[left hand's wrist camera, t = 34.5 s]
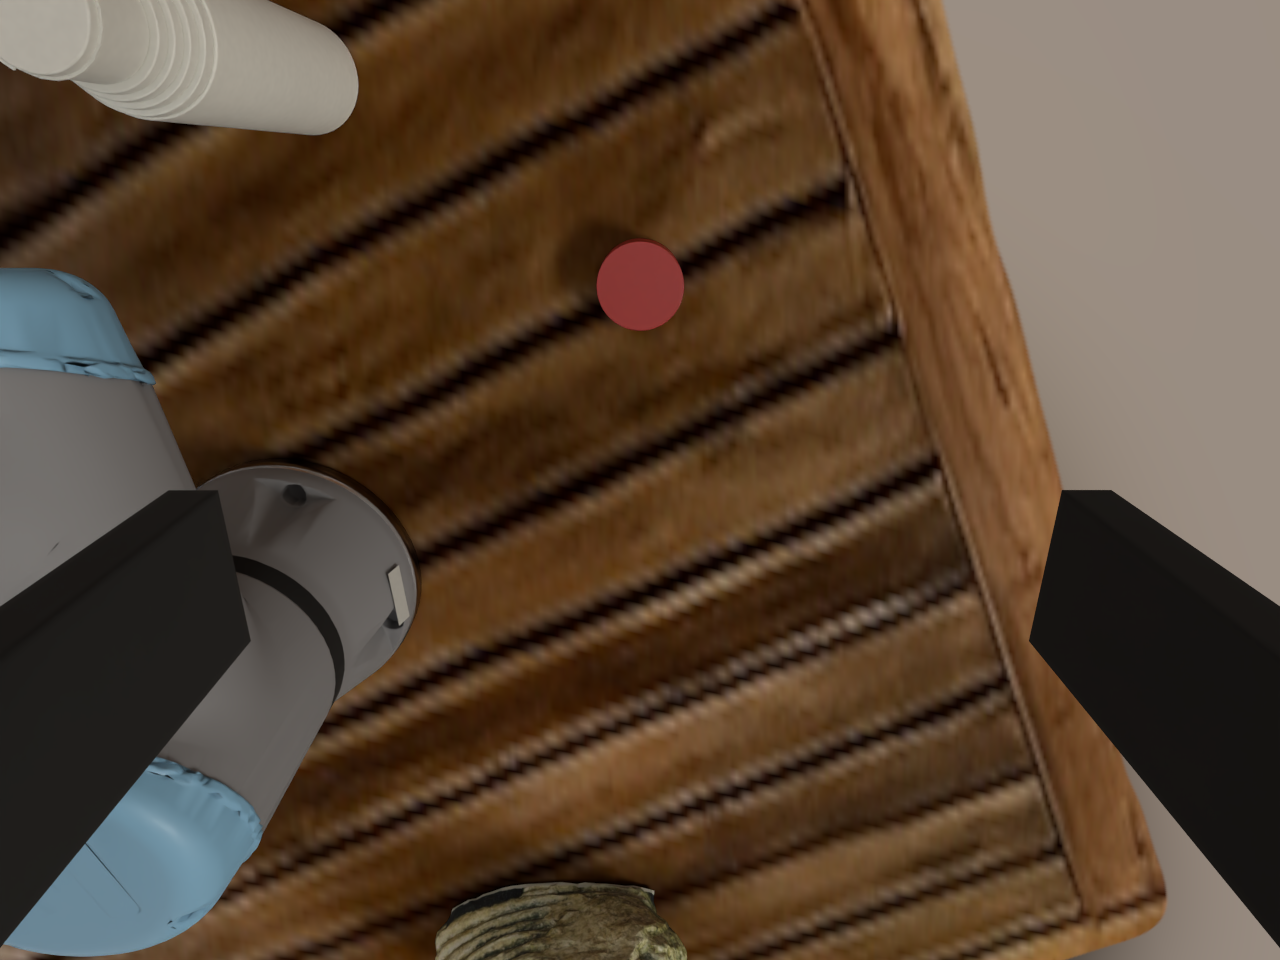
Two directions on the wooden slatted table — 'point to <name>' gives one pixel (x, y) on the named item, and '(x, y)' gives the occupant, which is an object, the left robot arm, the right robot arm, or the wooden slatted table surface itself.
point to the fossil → (559, 925)
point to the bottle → (188, 60)
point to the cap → (640, 284)
